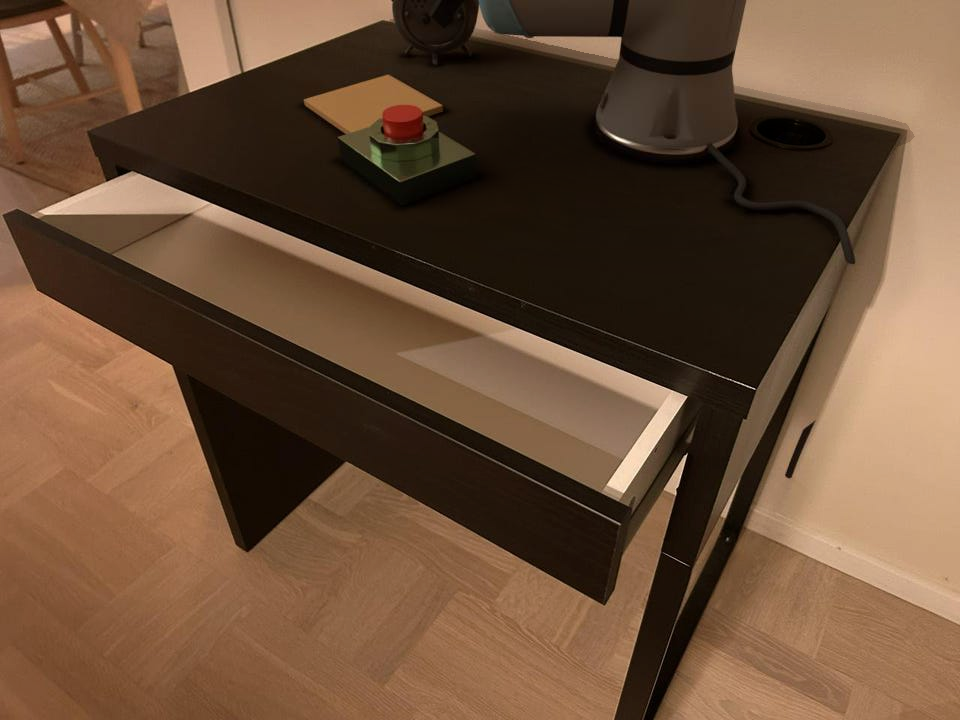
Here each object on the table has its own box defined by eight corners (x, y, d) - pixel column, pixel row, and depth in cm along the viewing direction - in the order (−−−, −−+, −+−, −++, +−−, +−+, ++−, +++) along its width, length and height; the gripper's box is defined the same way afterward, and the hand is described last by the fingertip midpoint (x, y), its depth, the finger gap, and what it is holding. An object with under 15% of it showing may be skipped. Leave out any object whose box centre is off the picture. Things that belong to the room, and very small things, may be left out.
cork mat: (443, 111, 88) (442, 105, 88) (355, 141, 83) (354, 134, 82) (389, 80, 95) (388, 74, 95) (304, 105, 90) (303, 99, 90)
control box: (476, 177, 76) (475, 136, 73) (402, 206, 73) (398, 164, 69) (411, 136, 84) (408, 97, 81) (341, 160, 80) (334, 120, 77)
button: (431, 133, 75) (430, 114, 74) (397, 145, 73) (396, 125, 72) (409, 120, 77) (408, 100, 76) (376, 131, 76) (374, 111, 74)
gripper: (442, -188, 95) (349, -29, 98) (559, -166, 82) (446, 17, 85) (476, -143, 101) (387, 5, 104) (590, -116, 87) (483, 53, 91)
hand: (413, 10), depth 95 cm, fingers closed on alarm clock, 10 cm apart
